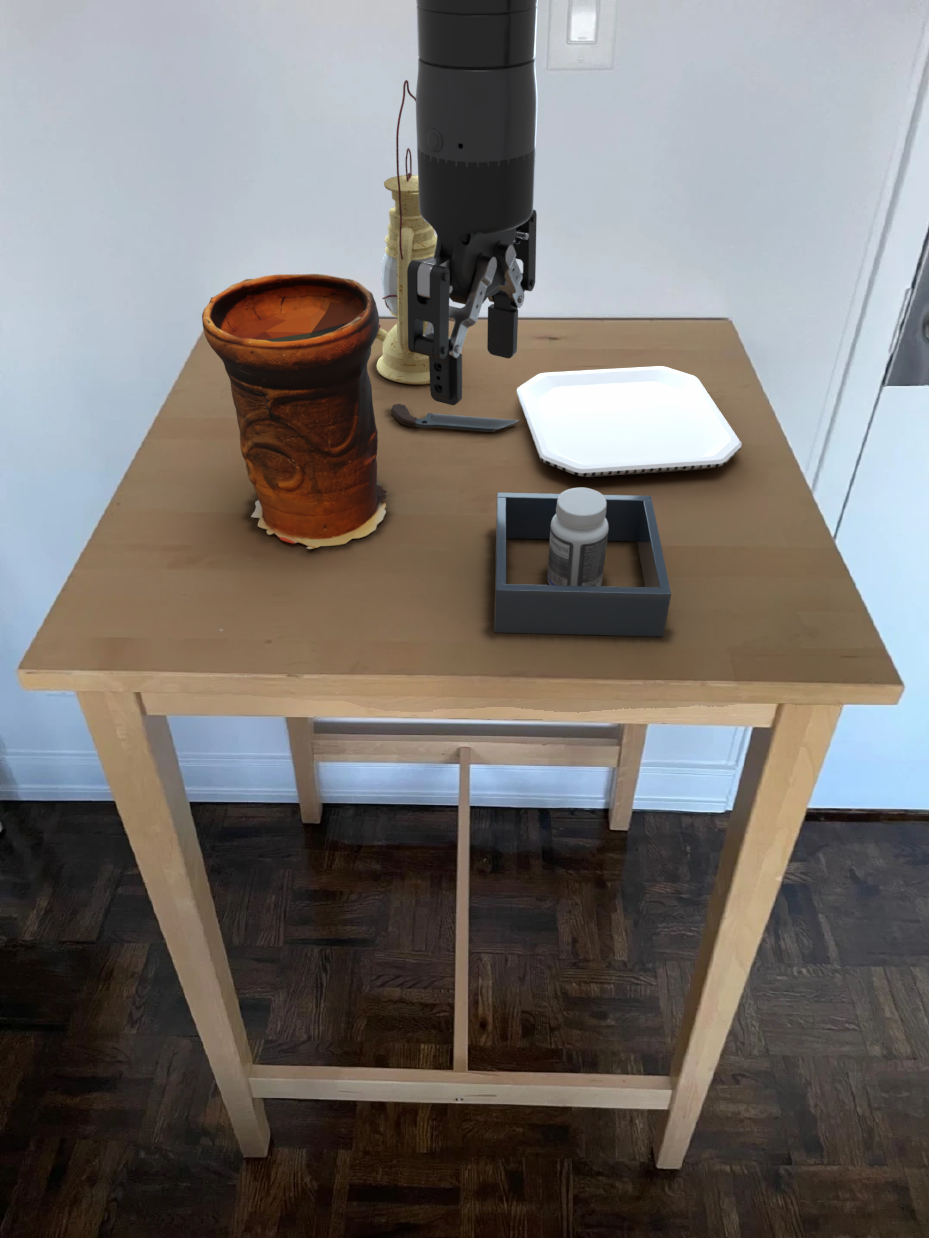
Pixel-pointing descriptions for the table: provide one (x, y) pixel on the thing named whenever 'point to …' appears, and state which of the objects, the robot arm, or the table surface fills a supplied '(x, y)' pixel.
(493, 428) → the knife
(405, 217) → the lantern
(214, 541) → the table surface
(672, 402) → the plate
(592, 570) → the pill bottle
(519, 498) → the square frame
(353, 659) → the table surface
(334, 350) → the vessel
